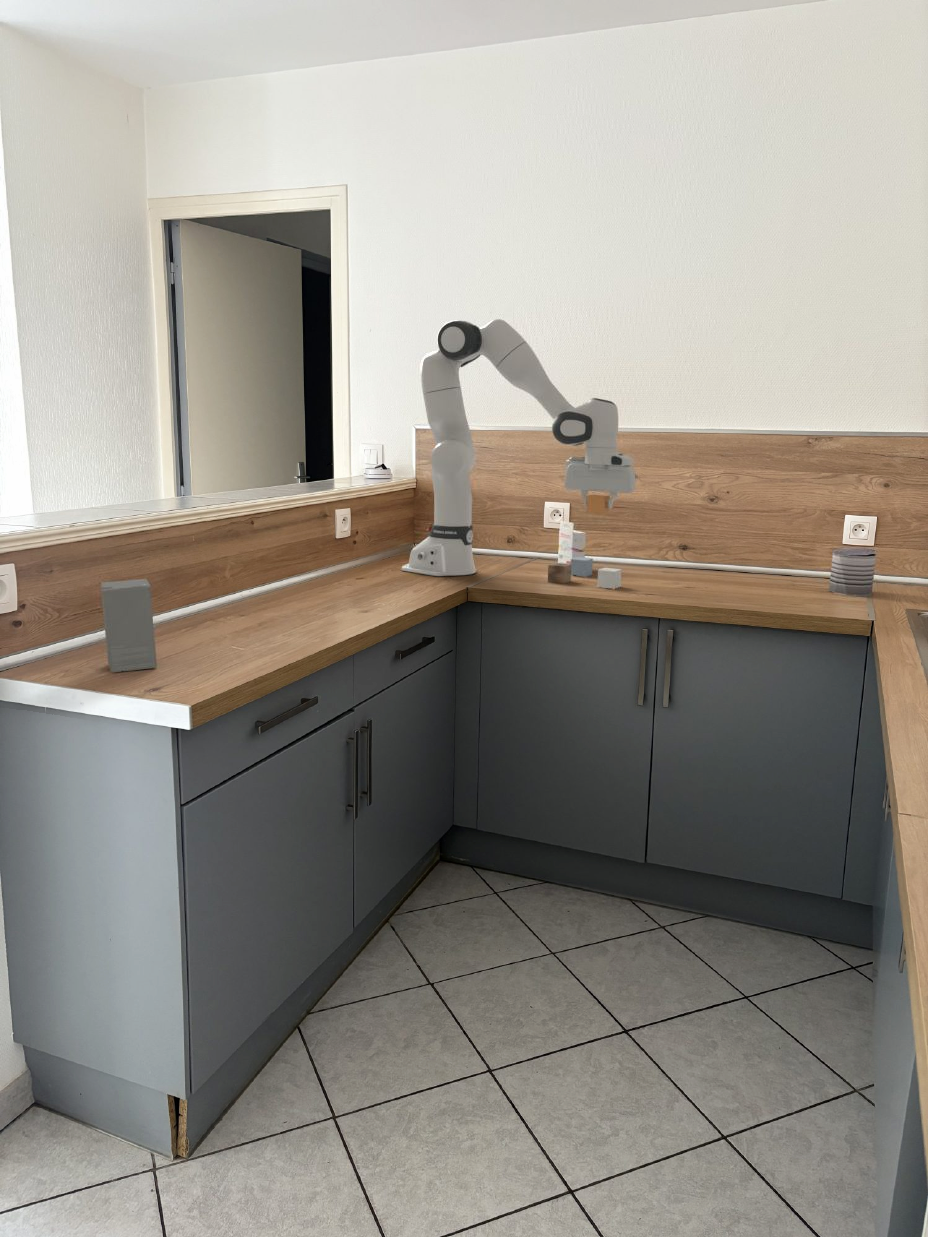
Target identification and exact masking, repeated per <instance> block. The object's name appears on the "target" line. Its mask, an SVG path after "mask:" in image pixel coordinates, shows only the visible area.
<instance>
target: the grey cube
mask: <svg viewBox="0 0 928 1237" xmlns="http://www.w3.org/2000/svg"><path fill="white" fill-rule="evenodd" d="M596 586H597V587H602V588H601V589H606V588H613V589H612V590H616V589H615V588H617V589H618V587H619V588H621V587H622V569H621V568H612V567H602V568H600V569H597V584H596ZM620 586H621V587H620Z"/></svg>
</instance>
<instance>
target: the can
mask: <svg viewBox="0 0 928 1237" xmlns="http://www.w3.org/2000/svg"><path fill="white" fill-rule="evenodd" d="M877 554H878V550H876V549H872V548H863V547H860V548H859V547H857V548H856V547H854V548H852V547H851V548H849V547H847V548H839V549H834V550H832V559H831V566H830V567H831V568H830V577H829V578H830V579H829V585H828V586H829V587H828V591H829V590H830V591H833V592H835V593H841V594H845V595H856V596H855V597H860V596H861V597H870V596H871V595H872V594H873V588H874V576H875V568H876V560H877ZM845 595H844V596H845Z"/></svg>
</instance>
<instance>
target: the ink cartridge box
mask: <svg viewBox="0 0 928 1237" xmlns="http://www.w3.org/2000/svg"><path fill="white" fill-rule="evenodd" d="M567 526H568V527H567ZM574 527H575V523H574V522H570V521H565V520H560V523H559V531H558V533H559V534H558V552H557V553H558V555H557V563H564V564H571V559H573V558H576V557H582V558H586V557H585V556H586V540H587V539H586V538H587V536H586V535H587V533H586V532H584V531H583V532H582V531H579V530H574Z"/></svg>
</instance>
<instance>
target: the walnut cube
mask: <svg viewBox="0 0 928 1237" xmlns="http://www.w3.org/2000/svg"><path fill="white" fill-rule="evenodd" d="M547 566H548V568H547V582H548V583H552V582H553V584H561V583H565V584H567V583H570V582H571V581H572V576H571V564H564V563H558V562H554V563H550V564H548V565H547ZM569 581H570V582H569ZM566 582H567V583H566Z"/></svg>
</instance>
